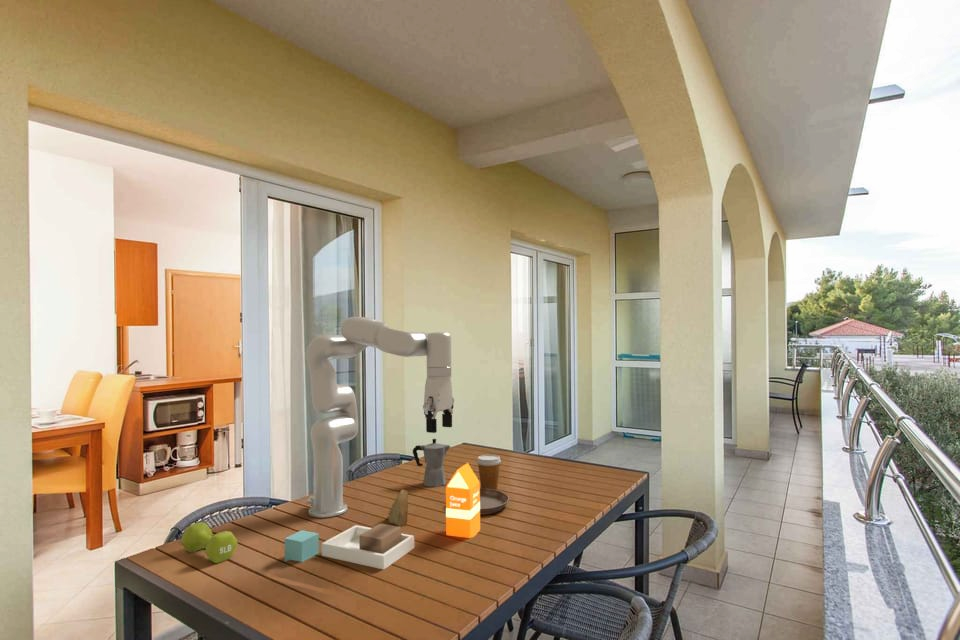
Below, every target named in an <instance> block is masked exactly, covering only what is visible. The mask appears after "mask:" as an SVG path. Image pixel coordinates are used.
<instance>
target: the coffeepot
mask: <svg viewBox="0 0 960 640" xmlns="http://www.w3.org/2000/svg"><path fill="white" fill-rule="evenodd" d="M450 448H451V446H450V445H449V444H443V443H438V442H437V438H432V442H431V443H429V444H425V445H424V444H423V445H421V444H419V445H415V446H414V448H413V449H412V455H413V457H414V460H415V463H416V466H418V467H423V465H424V464H423V463H421V462H420V458H419V456H418V451H423V458H424V463H425V464H426V465H425V466H426V467H425V468H424V469H425V470H424V477H423V483H422V484H423V485H424V486H425V487H432V488H434V487H435V488H436V487H443V486H444V485H446V482H447V480H446V475H445V469H444V465H443V464H444V461H445V456H446V455H447V452H448V450H449V449H450Z"/></svg>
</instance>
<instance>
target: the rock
mask: <svg viewBox="0 0 960 640" xmlns="http://www.w3.org/2000/svg"><path fill="white" fill-rule="evenodd" d="M408 499H409V493H408V491H407V490H405V489H403V488H402V489H401V490H400V492H399V493H398V495H397V496H396V498H395V500H394V502H393V503H392V504H391V507H390V510H389V512H388V516H387V520H388V523H391V524H395V525H396V526H397V527H401V528H402V527H407V525H408V524H407V523H408V514H409V510H408V509H409V500H408Z"/></svg>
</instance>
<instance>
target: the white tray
mask: <svg viewBox="0 0 960 640" xmlns="http://www.w3.org/2000/svg"><path fill="white" fill-rule="evenodd" d="M371 528H372V527H370V526H369V527H368V526H362V525H359V524H358V525H357V524H355V525H353V526H352V527H350V528H348V529H346V530H344V531H342V532H340V533H339V534H337V535H335V536H333V537H331V538H328V539H327V540H325V541H324V542H321V556H322V557H326V558H330V559H335V560H339V561H344V562H348V563H353V564H356V565H357V564H358V565H361V566H366V567H371V568H375V569H379V570H383V571H384V570H385V569H387V568H388V567H389V566H392V565H393V564H394V563H395V562H397V561H398V560H399V559H401V558H402V557H403V556H405V555H406V554H408V553H409V552H410V551H412V550H414V549H415V535H412V534H406V533H402V532H401V542H400V543H399V544H397V545H396V546H394V547H393V548H391V549H390V550H388V551H387V552H385V553H384V554H380V553H376V552H371V551H366V550H361V549H360V535H361V534H363V533H364V532H366V531H368V530H370V529H371Z"/></svg>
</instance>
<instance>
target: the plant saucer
mask: <svg viewBox="0 0 960 640" xmlns="http://www.w3.org/2000/svg"><path fill="white" fill-rule="evenodd" d="M509 501H510V497H509V496H508V494H507V493H505V492H503V491H499V490H498V489H496V490H491V489H481V488H480V516H481V515H490V514H494V513H497V512H499V511H501V510H502V509H503V508H504V507H506V505H507V503H508V502H509Z"/></svg>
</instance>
